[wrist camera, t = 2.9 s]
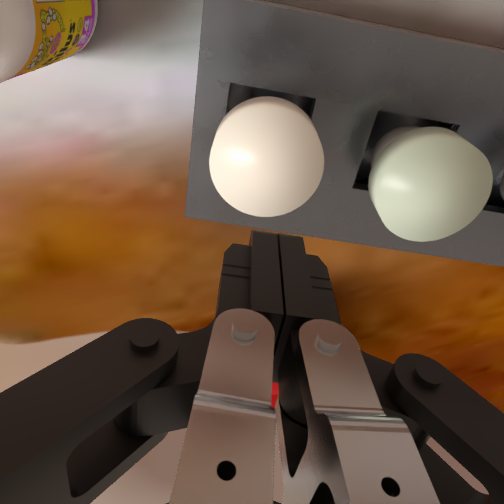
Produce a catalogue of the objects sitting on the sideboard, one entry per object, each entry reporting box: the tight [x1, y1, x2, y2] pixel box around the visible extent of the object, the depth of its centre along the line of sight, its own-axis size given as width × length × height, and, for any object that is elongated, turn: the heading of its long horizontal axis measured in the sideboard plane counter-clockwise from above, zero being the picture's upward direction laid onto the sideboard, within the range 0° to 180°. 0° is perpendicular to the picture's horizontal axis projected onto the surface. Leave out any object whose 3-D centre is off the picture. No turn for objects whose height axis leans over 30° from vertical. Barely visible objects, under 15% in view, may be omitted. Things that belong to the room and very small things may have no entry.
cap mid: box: [368, 125, 493, 242], centre depth 21 cm, size 5×5×5 cm
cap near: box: [209, 96, 324, 217], centre depth 20 cm, size 5×5×5 cm
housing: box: [185, 0, 504, 267], centre depth 25 cm, size 24×12×6 cm, turn 80°
